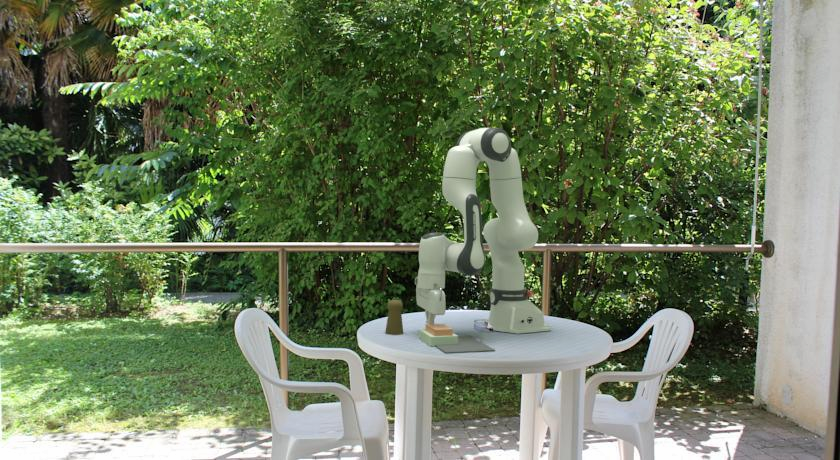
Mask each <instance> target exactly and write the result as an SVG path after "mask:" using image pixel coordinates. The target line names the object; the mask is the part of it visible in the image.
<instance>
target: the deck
mask: <svg viewBox="0 0 840 460" xmlns="http://www.w3.org/2000/svg"><path fill="white" fill-rule="evenodd" d="M458 336H459V335H457V334H456V333H454V332H453V335H452V336H433V335H432V334H430V333H429V332H427V331H426V328H420V329H418V339H419V340H421V341H422V342H423V343H425V344H426V345H428V346H429V347H435V345H451V344H458ZM435 348H436V347H435Z"/></svg>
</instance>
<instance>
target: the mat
mask: <svg viewBox="0 0 840 460" xmlns="http://www.w3.org/2000/svg"><path fill="white" fill-rule="evenodd" d="M457 336H458V344H451V345H435V348H437V349H438V350H439V351H441V352H442V353H444V354H446V355H447V354H461V353H462V354H463V353H467V354H468V353H483V352H485V353H486V352H496V349H494V347H491V346H489V345H488V344H485V343H484V342H482V341H480V340H478V339H477V338H475V337H473V336H472V335H457Z"/></svg>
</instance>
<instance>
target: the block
mask: <svg viewBox="0 0 840 460" xmlns="http://www.w3.org/2000/svg"><path fill="white" fill-rule="evenodd" d="M425 329H426V331H427V332H429V333H430V334H432V335H433V336H452V335H453V333H454V332H453V331H454V330H453V328H452V327H450V326H448V325H446V324H444V323H434V324H428V323H425Z"/></svg>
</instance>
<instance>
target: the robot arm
mask: <svg viewBox="0 0 840 460" xmlns="http://www.w3.org/2000/svg"><path fill="white" fill-rule="evenodd" d="M456 142H457V143H456V145H455V146H453V147H451V148H450V149H449V150H448V151H447V154H446V159H445V162H444V166H443V167H444V168H443V174H442V182H441V184H442V185H441V187H442V188H441V190H442V195H443V197H444V199H445V200H446V202H447V203H449V204H450V205H451V206H452V207H454V208H455V209H457V210H458V211H459V212H460V214H461V215H462V218H463V235H464V237H463V239H464V240H463V241H464V242H463V243H459V242H455V241H453V240H451V239H449V238H448V237H447V236H445V234H444V233H443V232H438V231H437V232H436V231H435V232H428V233H425V234H423V235H422V236H421V238H420V242H419V247H418V263H419V268H418V272H417V273H418V274H417V276H416V277H415V279H414V284H415V285H416V288H415V292H416V293H415V295H416V296H415V297H416V299H415V300H416V304H417V306H418V307H420V308H422V309H423V310H424V314H425V320H426V321H425V324H435V318H436V316H444V315H445V314H446V310H447V309H446V306H447V305H446V294H445V292H444V290H443V289H445V288H446V285H445V284H446V271H449V272H453V273H455V272H456V273H459V274H463V275H466V276H469V277H473V276H476V275H478V274H479V273H480V272H481V271H482V270H483V268H484V266H485V263H486V253H485V249H484V242H483V241H484V240H485V241H486V243H487V246H488V249H489V253H490V258H491V263H492V279H491V280H492V283H491V285H492V287H491V288H490V294H489V295H490V310H489V316H488V320H487V323H488V322H489V324H490V325H491V326H492V327H493V330H492V331H496V332H502V333H511V334H529V333H539V332H549V331H551V327H550V325H549V324H546V323H545V317H544V316H545V315H544V313H543V311H542V310H541V309H540V308H539V307H538V306H536V305H535V304H534V303H533V302H532V301H530V300H529V297H530V298H532V297H534V296H535V294H534V293H533V291H531V290H527V289H525V266H524V263H522V260H521V258H520V255H519V252H522V251H526V250H529V249H530V250H531V249H533V247H534V246H535V245H536V244H537V242H538V239H539V231H538V228H537V226H536V225H535V224H534V223H533V221H532V220H531V217H530V215H529V212H528V210H527V206H526V204H525V200H524V199H525V198H524V191H523V180H522V178H523V177H522V169H521V163H520V158H519V155H518V152H517V151H516V149H514V148H513V147H512V143H511V139H510V136H509V135H508V133H507V131H505V130H504V129H503V128H500V127H494V126H491V127H480V128H477V129H472V130H468V131H465V132H463V133H462V134H461V135H460V136H459V137H458V139H457V141H456ZM480 162H486V164H487V167H488V170H489V171H488V172H489V174H488V175H489V176H488V177H489V188H490V200H491V204H492V205H493V206H494V208H495V210H496V212H497V214H498V217H494V218H492V219H489V220H488V221H487V222H486V223H485V224H484V227H483V219H482V218H483V217H482V216H483V215H482V214H483V213H482V205H481V204H482V203H481V200H480V198H479V197H478V193H477V190H476V189H477V188H476V186H477V185H476V183H477V182H476V181H477V169H478V166H479V164H480ZM483 238H484V240H483Z"/></svg>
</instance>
